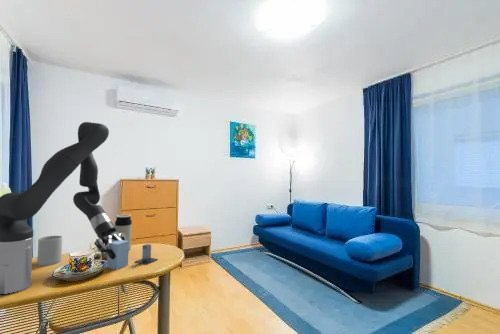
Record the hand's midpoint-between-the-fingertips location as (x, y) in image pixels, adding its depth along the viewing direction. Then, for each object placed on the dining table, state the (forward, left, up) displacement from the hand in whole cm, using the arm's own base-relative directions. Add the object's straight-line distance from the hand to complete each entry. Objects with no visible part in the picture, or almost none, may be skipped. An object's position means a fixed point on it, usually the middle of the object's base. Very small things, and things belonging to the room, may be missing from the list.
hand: (120, 255), depth 108 cm
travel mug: (+21, +17, -5) cm, 27 cm away
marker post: (+9, -6, -5) cm, 12 cm away
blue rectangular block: (0, +2, -5) cm, 5 cm away
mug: (-3, +35, -5) cm, 35 cm away
